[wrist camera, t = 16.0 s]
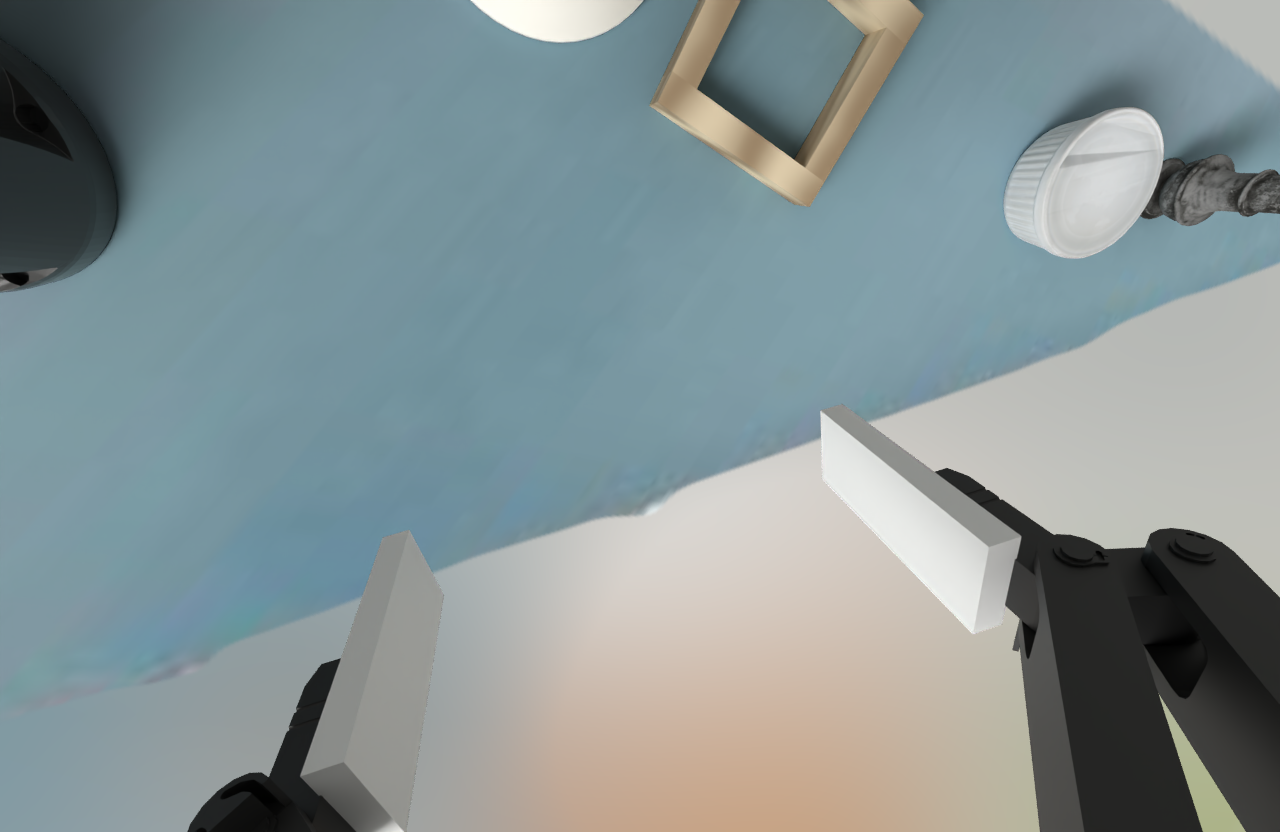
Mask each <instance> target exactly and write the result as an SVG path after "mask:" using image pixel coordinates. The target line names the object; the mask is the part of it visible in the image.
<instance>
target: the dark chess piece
mask: <svg viewBox="0 0 1280 832" xmlns="http://www.w3.org/2000/svg"><path fill="white" fill-rule="evenodd" d="M1215 211H1232V212H1239V213H1240V214H1241V215H1242V216H1247V217H1249V216H1253V215H1255V214H1257V213H1258V212H1262V213H1277V214H1280V175H1279V174H1278V172H1277V171H1275V170H1271V169H1269V170H1265V171H1263V172H1261V173H1236V172H1235V169H1234V164H1233V162H1232V160H1231V158H1229V157H1228V156H1227V155H1221V154H1218V155H1214V156H1210V157H1208V158H1207V159H1201V160H1198V161H1195V162H1192V163H1189V164H1187V165H1185V163H1184V162H1183V161H1181V160H1180V159H1174V158H1173V159H1168V160H1165V161H1163V164H1162V168H1161V172H1160V176H1159V179H1158V182H1157V185H1156V187H1155V190H1154V192H1153V194H1152V196H1151V198H1150V200H1149V202H1148V204H1147V205H1146V207H1145V209H1144V210H1143V212H1142V213H1141V215H1140V216H1141V217H1143V218H1146V219H1153V218H1157V217H1159V216H1161V215H1163V214H1164V215H1165V216H1167V217H1169V218H1170V219H1172V220H1174V221H1177V222H1178V223H1180V224H1181V225H1185V226H1192V225H1196V224H1198V223H1200V222H1202V221H1204V220H1206V219H1207V218H1208V217H1210V216H1211V215H1212V214H1213V213H1214V212H1215Z"/></svg>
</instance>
